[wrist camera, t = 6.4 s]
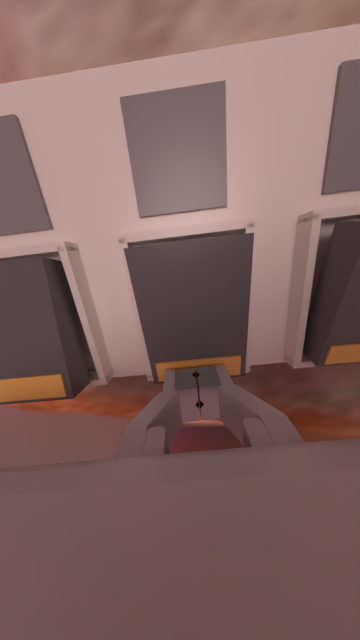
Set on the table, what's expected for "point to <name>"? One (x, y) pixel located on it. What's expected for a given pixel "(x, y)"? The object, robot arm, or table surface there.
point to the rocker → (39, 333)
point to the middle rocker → (194, 302)
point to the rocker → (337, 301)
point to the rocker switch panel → (186, 178)
